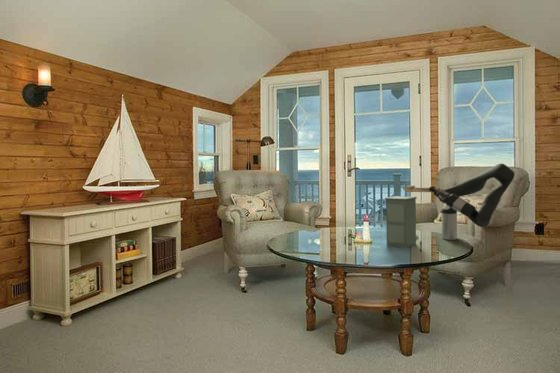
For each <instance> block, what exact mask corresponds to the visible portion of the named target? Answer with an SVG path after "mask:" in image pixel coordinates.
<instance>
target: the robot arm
mask: <svg viewBox="0 0 560 373" xmlns="http://www.w3.org/2000/svg"><path fill="white" fill-rule="evenodd" d="M493 178H494V179H495V180H496V181H498V182H499V185H498V187H496V188H495V189H494V190H492V191H489V193H487V195H486V196H485V198H484V200H483V202H482V204H481V207H480V208H479V210H478V211H477V208H476V207H475V206H474V205H473V204H471V203H469V202H468V201H466V200H465V199H463V198H462V197H464V196H469V195H472V194H476V193H478V192H481V191H482V190H483V189H484V187H486V183H487V181H488V180H490V179H493ZM514 178H515V171H514V170H513V169H511V168H510V167H509V166H507V165H506V164H504V163H498V164H496V165H494V166H492V167H491V168H489V169H487V170H486V171H483V172H481V173H479V174H478V175H475V176H473V177H470V178H468V179H466V180H464V181H462V182H459V183H457V184H456V185H455V186H452V187H449V188H445V189H441V188H440V191H438V190H436V189H434V188H437V187H436V186H434V185H433V186H429V187H428V188H429V190H430V191H432V192H431V193H432V194H433V195H434V196H435V197H437V198H438V199H439V201H440V202H441V203H443V204H445V206H444V207H443V208H442V210H441V238H442V240H450V241H454V240H455V241H456V240H457V239H458V213H461V214H462V215H464V216H465V217H466V218H468V219H469V220H470V221H471V222H472V223H474V224H475V225H476V226H477V227H480V228H487V227H488V226H489V225H490V223H491V220H492V216H493V213H494V212H495V211H496V208H497V206H498V204H499V202H500V200H501V198H502V196H503V195H504V193H505V192H506V191H507V189H508V187H509V186H510V185H511V183H512V182H513V180H514Z"/></svg>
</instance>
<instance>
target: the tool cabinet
mask: <svg viewBox="0 0 560 373" xmlns="http://www.w3.org/2000/svg"><path fill="white" fill-rule="evenodd" d="M384 200H385V203H386V206H385V209H386V210H385V211H386V214H385V215H386V218H385V219H386V246H389V247H398V248H405V249H407V248H409V247H412V246H414V245H417V239H416V235H417V227H416V226H417V224H416V223H417V214H416V213H417V210H416V208H417V206H416V204H417V202H416V200H417V196H400V195H399V196H398V195H394V196H388V197H385V198H384Z"/></svg>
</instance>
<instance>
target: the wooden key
mask: <svg viewBox="0 0 560 373" xmlns="http://www.w3.org/2000/svg"><path fill="white" fill-rule="evenodd" d="M429 188H430V187H416V185H405V188H404V189H405V190H404V191H405V193H433V192H432V191H430V190H429ZM434 189H436V190H438V191H440V190H441V187H436V188H434Z"/></svg>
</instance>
